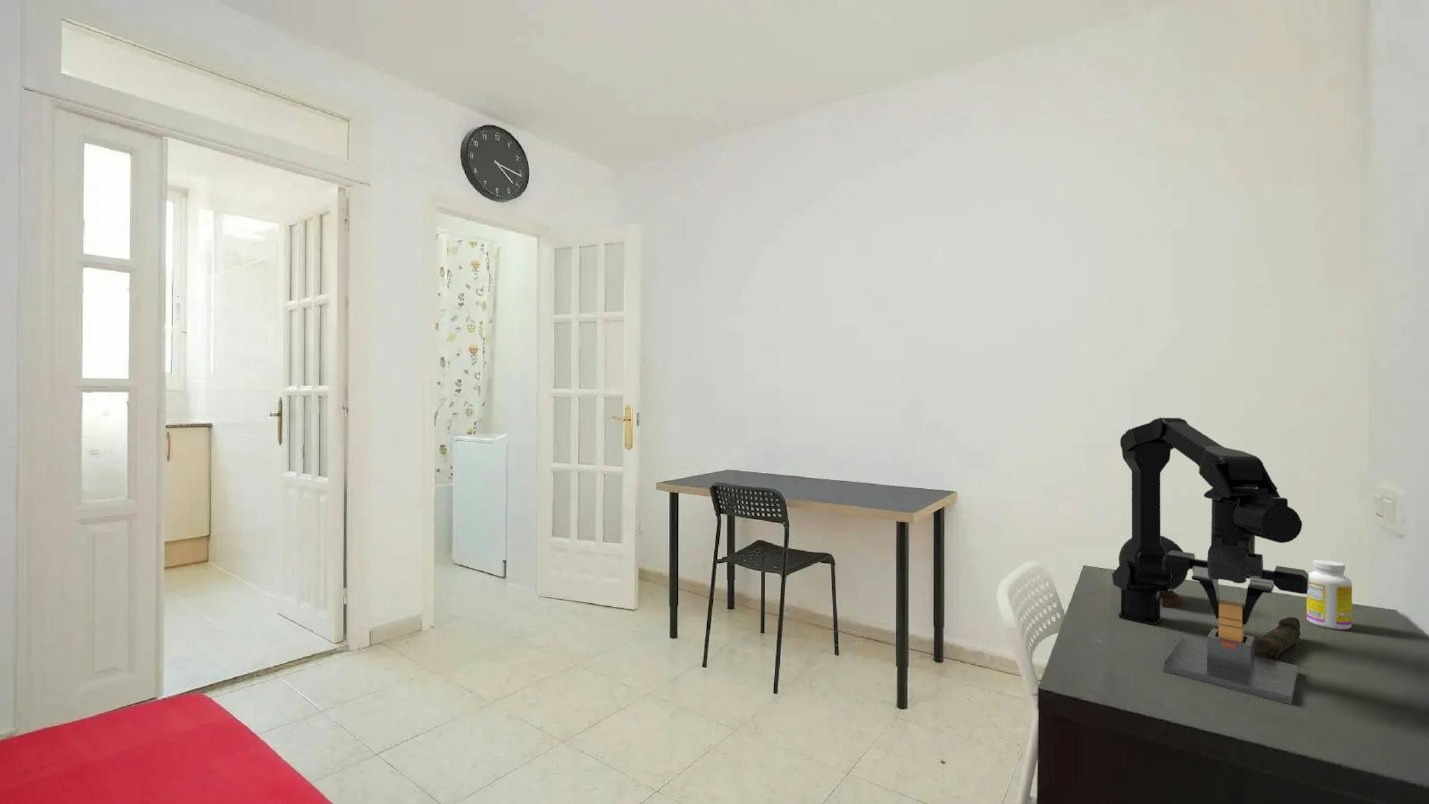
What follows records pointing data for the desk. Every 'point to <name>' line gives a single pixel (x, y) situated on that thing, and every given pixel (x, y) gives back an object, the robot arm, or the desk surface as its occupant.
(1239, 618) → the column
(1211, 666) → the jack stand base
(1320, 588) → the supplement bottle
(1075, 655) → the desk surface
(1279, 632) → the rusty railroad spike
